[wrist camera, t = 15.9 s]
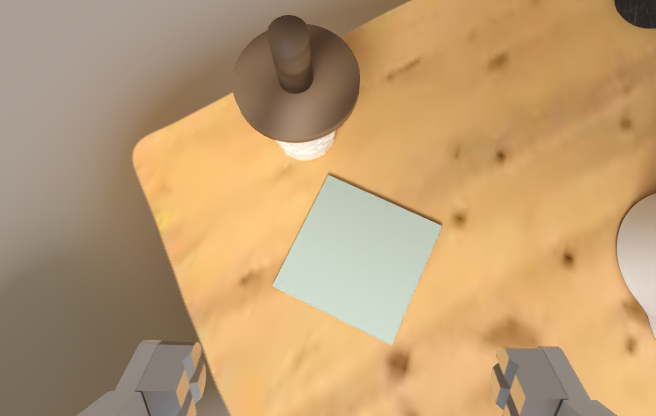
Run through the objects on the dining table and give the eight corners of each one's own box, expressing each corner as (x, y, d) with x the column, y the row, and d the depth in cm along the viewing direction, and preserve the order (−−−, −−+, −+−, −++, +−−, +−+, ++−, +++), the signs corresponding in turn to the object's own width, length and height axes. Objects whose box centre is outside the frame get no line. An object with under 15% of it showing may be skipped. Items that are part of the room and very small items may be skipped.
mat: (441, 226, 44) (442, 225, 44) (390, 344, 42) (391, 345, 41) (328, 176, 46) (328, 174, 46) (272, 286, 43) (272, 285, 43)
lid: (377, 55, 39) (385, -3, 32) (330, 161, 36) (327, 123, 29) (267, 17, 40) (252, -48, 33) (214, 116, 37) (185, 69, 30)
